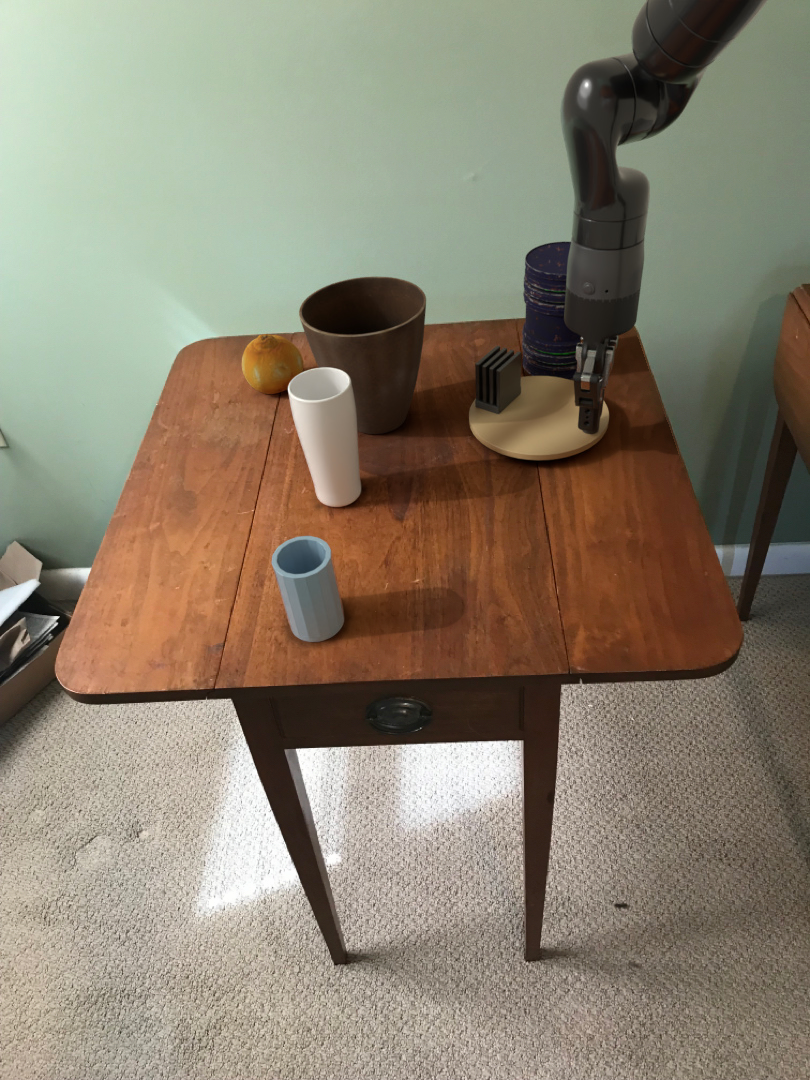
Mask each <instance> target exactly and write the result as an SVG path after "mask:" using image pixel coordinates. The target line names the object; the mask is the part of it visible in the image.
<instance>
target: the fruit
mask: <svg viewBox="0 0 810 1080" xmlns="http://www.w3.org/2000/svg"><path fill="white" fill-rule="evenodd" d="M241 369H242V373H243V376H244V378H245V381H247V383H248V384H249V385H250V387H252V388H253V389H254V390H255V391H257V392H259V393H262V394H266V395H273V394H278V393H282V392H285V391H288V385H289V383H290V382H291V380H292V379H293V378H294V377H296V376H297V375H299V374H300V373H302V372H304V359H303V356H302V353H301V351H300V350H299V348H298V347H297V346H296V345H295V343H293V342H291V341H290V340H289V339H287V338H286V337H284V336H281V335H278V334H269V333H265V334H262V333H261V334H260V335H258V336H257V337H256V338H254V339H253V340H251V341H250V342H249V343H248V344H247V345H246V347H245V349H244V350H243V353H242V356H241Z"/></svg>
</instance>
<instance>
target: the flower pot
mask: <svg viewBox="0 0 810 1080" xmlns="http://www.w3.org/2000/svg"><path fill="white" fill-rule="evenodd" d="M426 310H427V297H426V294H425V292H424V291H423V289H422V288H420V287H419V286H418V285H417V284H415V283H413V282H411V281H408V280H405V279H401V278H397V277H391V276H390V277H389V276H376V275H375V276H361V277H354V278H348V279H344V280H340V281H336V282H334V283H330V284H328V285H325V286H323V287H321V288H319V289H317V290H316V291H314V292H313V293H311V294H310V295H309V296H307V297H306V298H305V299H304V300H303V302H302V303H301V305H300V306H299V310H298V317H299V319H300V323H301V326H302V328H303V332H304V335H305V337H306V340H307V343H308V345H309V346H308V347H309V348H310V351H311V353H312V356H313V358H314V361H315V363H316V366H317V368H323V367H328V368H336V369H339V370H342V371H344V372H345V373H347V374H348V375H349V377H350V379H351V383H352V388H353V393H354V398H355V405H356V414H357V431H358V432H359V433H362V434H366V435H382V434H387V433H389V432H392V431H395V430H397V429H398V428H399V427H401V426H402V425H403V424H404V422H405V421H406V419H407V417H408V414H409V410H410V406H411V404H412V400H413V396H414V393H415V389H416V385H417V380H418V376H419V371H420V367H421V359H422V354H423V353H422V352H423V345H424V336H425V326H426V325H425V324H426V323H425V322H426Z"/></svg>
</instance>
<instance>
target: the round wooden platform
mask: <svg viewBox="0 0 810 1080" xmlns="http://www.w3.org/2000/svg"><path fill="white" fill-rule="evenodd" d="M474 367H475V368H474V369H475V371H474V372H475V398H474V400H473V401H472V403H471V405H470V407H469V411H468V424H469V429H470V431H471V432H472V434H473V436H474V437H475V438H476V439H477V441H479V442H480V443H481V444H482V445H484V446H485V447H487V448H488V449H490V450H491V451H494V452H496V453H498V454H500V455H503V456H505V455H506V456H505V457H508V456H510V457H514V458H519V459H526V460H552V459H559V458H563V459H565V458H564V457H567V458H569V456H570V457H572V456H575V455H578V454H580V453H582V452H584V451H586V450H589V449H590V448H592V447H593V446H595V445H596V444H597V443H598V442H600V440H601V439H602V438H603V437H604V435H605V434H606V432H607V429H608V428H609V421H610V411H609V407H608V405H607V404H606V402H605V400H604V401H603V410H602V415H601V406H602V402H601V404H600V411H599V420H598V427H597V430H596V431H586V430H580V429H579V428H578V418H579V406H575V394H574V380H568V379H564V378H559V377H551V376H532V375H529V376H522V351H517V352H516V353H515V350H514V349H510V350H508V348H507V347H502V349H501V346H500V345H496V346H495V347H493V348H492V349H491V350H490V351H489V352H488V353H486V354H485V355H484V356H483V357H481V358H480V360H478V361H477V362H476V363H475V364H474ZM602 397H603V390H602ZM600 415H601V417H600ZM510 457H509V458H510ZM514 458H513V459H514ZM559 460H560V459H559Z"/></svg>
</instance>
